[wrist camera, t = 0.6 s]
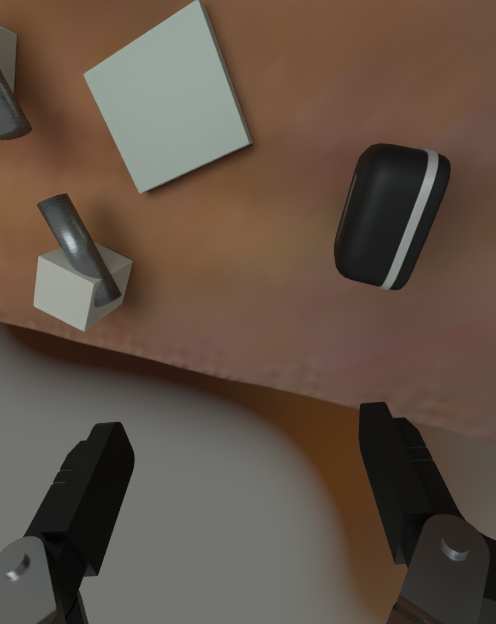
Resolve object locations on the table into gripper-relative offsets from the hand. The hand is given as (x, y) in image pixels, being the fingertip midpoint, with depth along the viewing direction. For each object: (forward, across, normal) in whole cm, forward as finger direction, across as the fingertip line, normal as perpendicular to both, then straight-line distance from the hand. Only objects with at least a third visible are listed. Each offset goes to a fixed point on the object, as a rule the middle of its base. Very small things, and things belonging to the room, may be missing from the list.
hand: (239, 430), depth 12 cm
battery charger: (+19, -10, -3) cm, 21 cm away
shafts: (+21, +15, -7) cm, 27 cm away
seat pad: (+23, +5, -10) cm, 25 cm away
